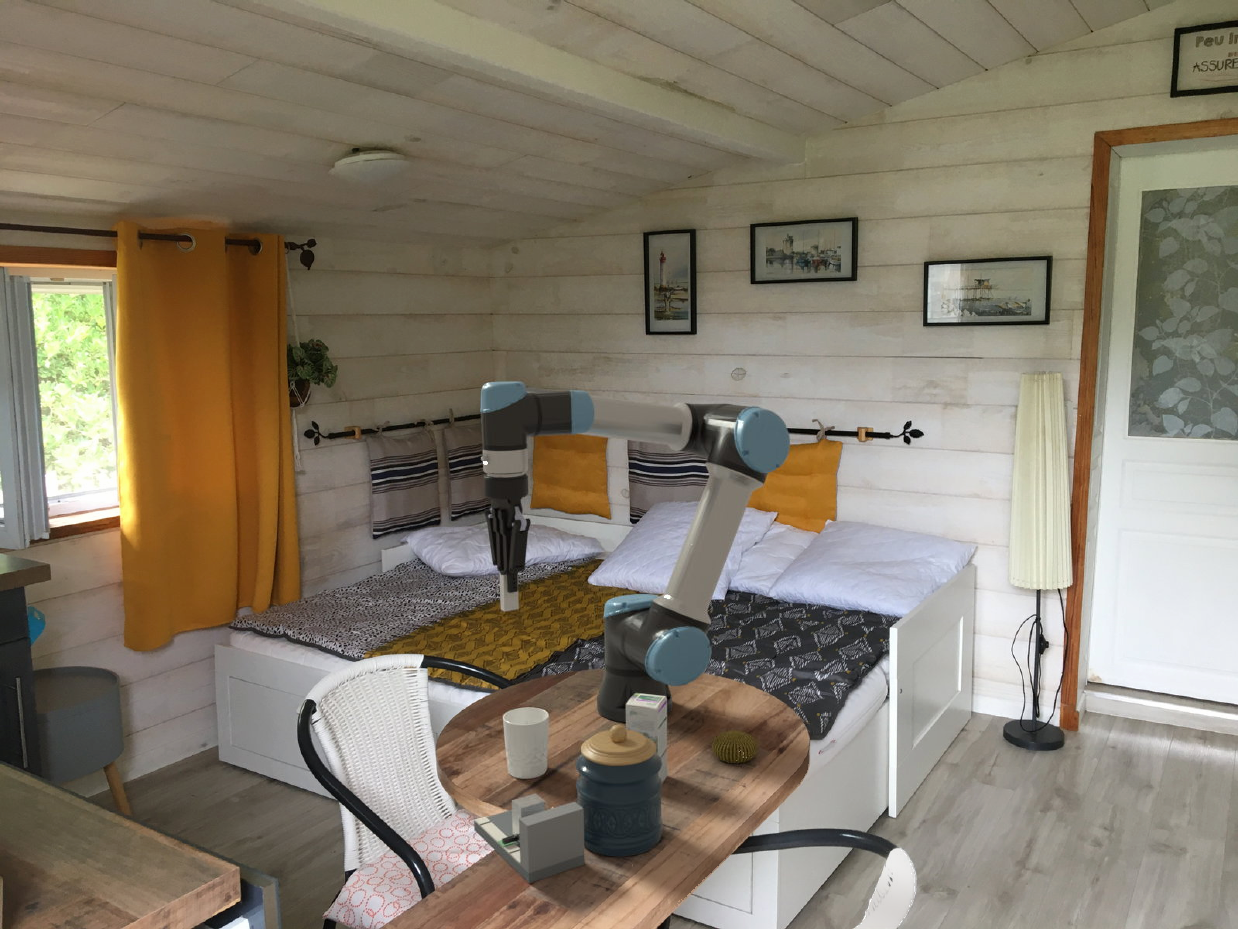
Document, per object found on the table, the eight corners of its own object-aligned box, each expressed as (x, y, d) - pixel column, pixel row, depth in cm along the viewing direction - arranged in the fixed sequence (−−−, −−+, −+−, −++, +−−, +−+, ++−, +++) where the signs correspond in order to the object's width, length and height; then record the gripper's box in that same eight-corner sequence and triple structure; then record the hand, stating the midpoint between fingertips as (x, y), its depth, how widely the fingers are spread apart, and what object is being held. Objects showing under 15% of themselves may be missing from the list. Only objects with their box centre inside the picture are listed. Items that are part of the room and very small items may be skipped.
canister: (559, 839, 154) (556, 727, 151) (616, 807, 163) (614, 702, 161) (623, 869, 145) (621, 751, 143) (680, 834, 155) (679, 723, 152)
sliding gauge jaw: (498, 841, 150) (497, 804, 149) (536, 829, 153) (535, 793, 152) (507, 850, 147) (506, 812, 146) (546, 837, 151) (545, 801, 150)
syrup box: (668, 775, 174) (667, 694, 172) (658, 790, 169) (657, 707, 167) (636, 771, 176) (635, 690, 174) (625, 786, 171) (624, 703, 169)
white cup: (543, 782, 173) (541, 726, 171) (498, 779, 174) (496, 723, 173) (555, 762, 180) (553, 708, 179) (512, 759, 182) (510, 706, 180)
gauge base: (474, 830, 157) (472, 778, 155) (526, 814, 161) (525, 763, 160) (529, 883, 142) (527, 826, 140) (584, 864, 146) (583, 808, 145)
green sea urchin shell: (715, 746, 177) (709, 728, 185) (715, 768, 177) (709, 749, 185) (761, 744, 177) (752, 726, 185) (761, 766, 178) (752, 747, 186)
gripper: (468, 471, 175) (473, 604, 179) (502, 480, 164) (507, 622, 168) (508, 467, 179) (512, 597, 183) (543, 476, 168) (547, 614, 172)
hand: (509, 609), depth 175 cm, fingers closed
